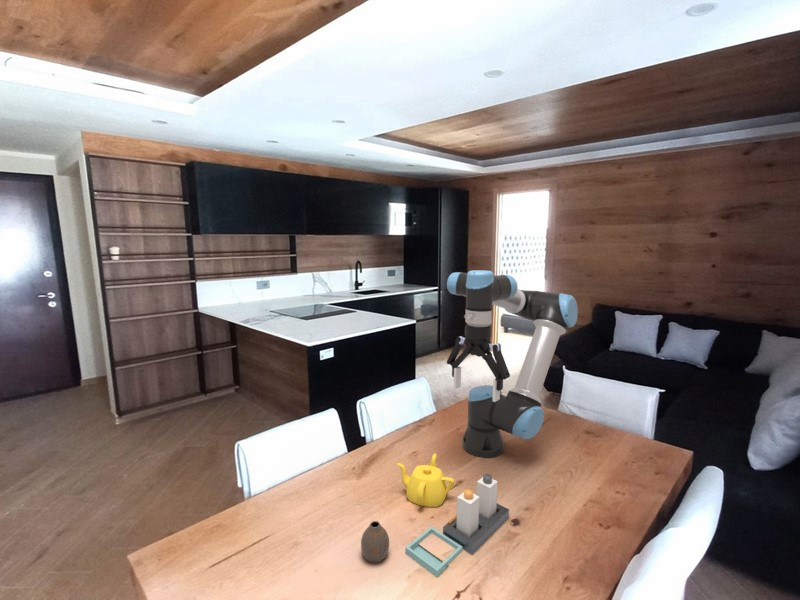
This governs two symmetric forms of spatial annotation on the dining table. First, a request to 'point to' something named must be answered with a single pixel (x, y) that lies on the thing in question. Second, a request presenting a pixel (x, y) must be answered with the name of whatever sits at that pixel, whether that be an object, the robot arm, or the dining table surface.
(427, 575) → the dining table surface
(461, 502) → the plug
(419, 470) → the teapot
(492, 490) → the twin plug
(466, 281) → the robot arm
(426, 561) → the tray
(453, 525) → the grey socket base
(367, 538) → the vase
